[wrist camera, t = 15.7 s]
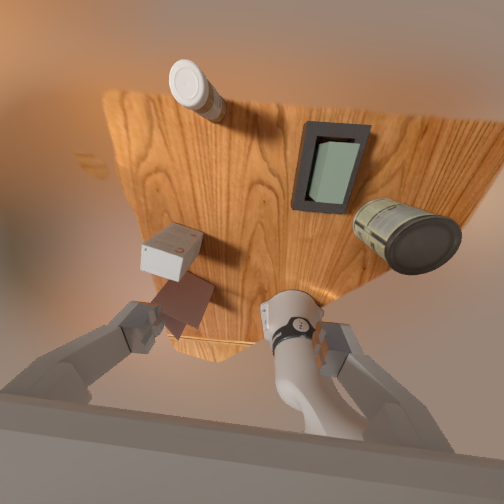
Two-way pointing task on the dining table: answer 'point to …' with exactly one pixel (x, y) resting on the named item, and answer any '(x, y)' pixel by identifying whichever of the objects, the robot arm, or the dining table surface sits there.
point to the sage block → (331, 171)
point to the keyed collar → (308, 140)
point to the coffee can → (407, 235)
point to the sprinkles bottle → (196, 91)
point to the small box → (171, 251)
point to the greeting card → (184, 302)
